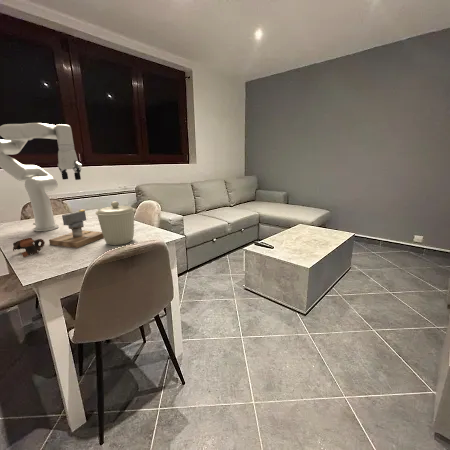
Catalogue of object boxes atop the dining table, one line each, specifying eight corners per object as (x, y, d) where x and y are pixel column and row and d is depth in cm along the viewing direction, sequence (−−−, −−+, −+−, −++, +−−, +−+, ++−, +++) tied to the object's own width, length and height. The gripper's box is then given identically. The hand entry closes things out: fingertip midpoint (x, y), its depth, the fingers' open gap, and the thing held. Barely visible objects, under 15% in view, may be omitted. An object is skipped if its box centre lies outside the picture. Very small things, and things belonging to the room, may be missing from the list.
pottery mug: (15, 260, 107) (6, 243, 107) (22, 262, 115) (15, 246, 116) (46, 248, 112) (38, 232, 112) (51, 251, 121) (44, 235, 121)
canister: (102, 239, 132) (96, 200, 127) (137, 235, 139) (133, 197, 133) (98, 250, 116) (91, 206, 110) (139, 245, 122) (134, 203, 117)
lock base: (49, 244, 125) (46, 231, 123) (79, 234, 141) (77, 222, 140) (77, 248, 120) (74, 234, 118) (105, 236, 136) (103, 224, 134)
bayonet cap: (71, 230, 122) (68, 214, 120) (61, 229, 125) (58, 213, 123) (90, 225, 132) (87, 210, 130) (80, 224, 135) (78, 209, 133)
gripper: (48, 148, 138) (54, 179, 142) (72, 148, 132) (77, 180, 137) (61, 148, 144) (66, 178, 149) (84, 148, 139) (88, 179, 143)
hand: (71, 179), depth 143 cm, fingers open, 9 cm apart
